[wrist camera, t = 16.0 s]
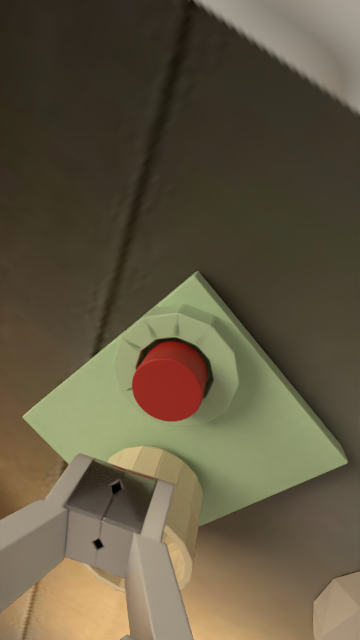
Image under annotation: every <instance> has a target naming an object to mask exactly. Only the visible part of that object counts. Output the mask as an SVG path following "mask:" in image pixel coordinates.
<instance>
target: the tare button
mask: <svg viewBox="0 0 360 640" xmlns="http://www.w3.org/2000/svg"><path fill="white" fill-rule="evenodd" d="M206 381H207V366H206V363H205V361H204V359H203V357H202V356H201V355H200V353H199V352H198V351H197V350H195V349H194V348H193V347H191V346H190V345H187V344H185V343H182V342H178V341H168V342H163V343H160V344H158V345H156V346H155V347H153V348H152V349H151V350H150V351H149V353H148V354H147V356H146V357H145V358H144V360H143V361H142V363H141V364H140V366H139V367H138V368H137V370H136V372H135V373H134V376H133V379H132V391H133V395H134V398H135V400H136V402H137V403H138V405H139V406H140V407H141V408H142V409H143V410H144V411H145V412H146V413H147V414H149V415H150V416H152V417H154V418H156V419H159V420H162V421H168V422H175V421H181V420H184V419H187V418H188V417H190V416H192V415H193V414H194V413H195V412H196V411H197V410H198V408H199V407H200V405H201V402H202V398H203V394H204V389H205V385H206Z"/></svg>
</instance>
